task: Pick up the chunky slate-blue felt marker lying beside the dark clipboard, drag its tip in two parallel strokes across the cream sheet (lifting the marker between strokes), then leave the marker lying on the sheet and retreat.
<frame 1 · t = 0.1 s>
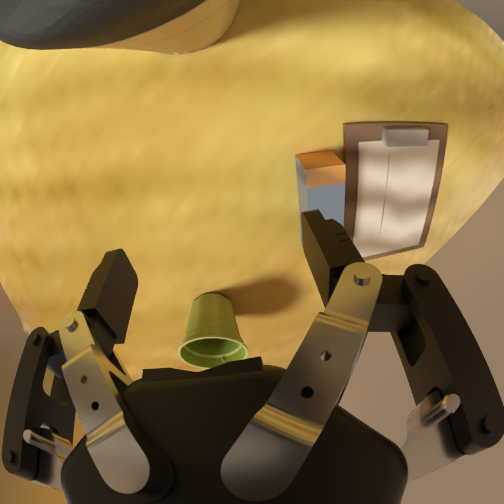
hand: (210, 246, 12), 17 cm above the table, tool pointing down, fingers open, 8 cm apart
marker: (315, 200, 31), on the table
plant pot: (212, 304, 41), on the table
clipboard: (394, 195, 31), on the table
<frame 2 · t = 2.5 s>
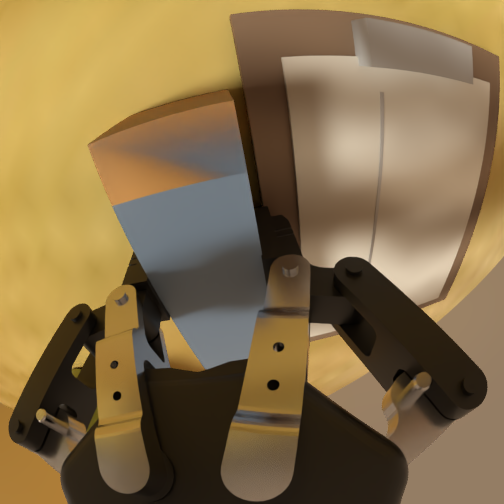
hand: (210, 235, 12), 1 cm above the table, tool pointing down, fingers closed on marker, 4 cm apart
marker: (210, 226, 13), on the table, touching gripper
clipboard: (398, 208, 13), on the table
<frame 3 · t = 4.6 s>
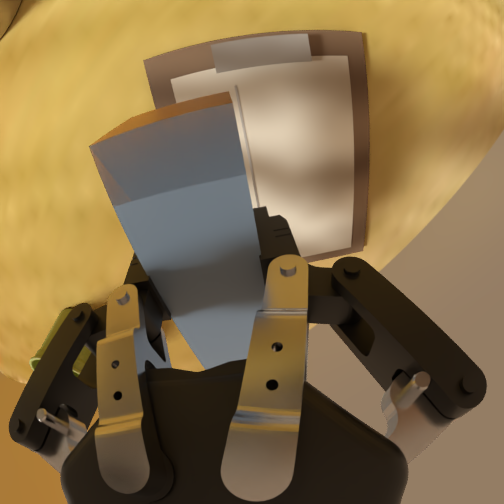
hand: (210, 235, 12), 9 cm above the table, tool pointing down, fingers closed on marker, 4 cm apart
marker: (211, 227, 13), point 8 cm above the table, touching gripper
plant pot: (80, 321, 29), on the table
clipboard: (277, 163, 20), on the table
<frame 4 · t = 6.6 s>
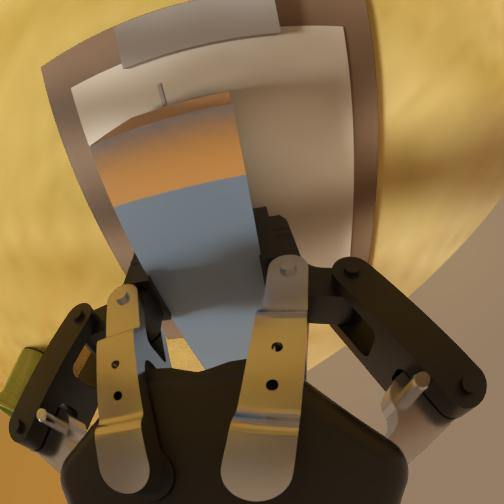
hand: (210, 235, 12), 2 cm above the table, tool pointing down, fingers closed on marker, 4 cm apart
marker: (211, 227, 13), point 1 cm above the table, touching gripper
plant pot: (43, 360, 23), on the table
clipboard: (235, 197, 14), on the table
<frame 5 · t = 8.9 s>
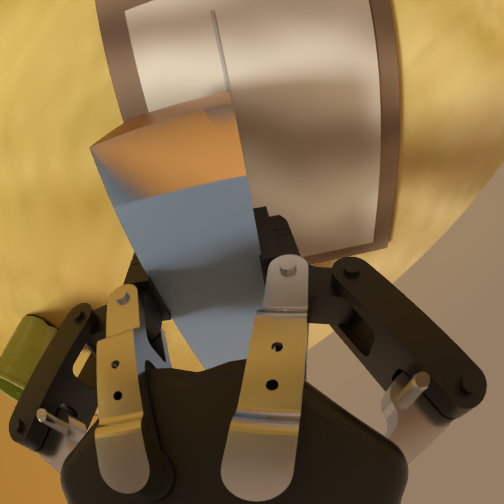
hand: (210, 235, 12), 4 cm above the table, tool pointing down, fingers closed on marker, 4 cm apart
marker: (212, 228, 13), point 3 cm above the table, touching gripper
plant pot: (45, 330, 23), on the table
clipboard: (273, 120, 13), on the table
when the fingers open (2 cm above the table, at t = 10.7 s): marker stays where it is, resting on clipboard.
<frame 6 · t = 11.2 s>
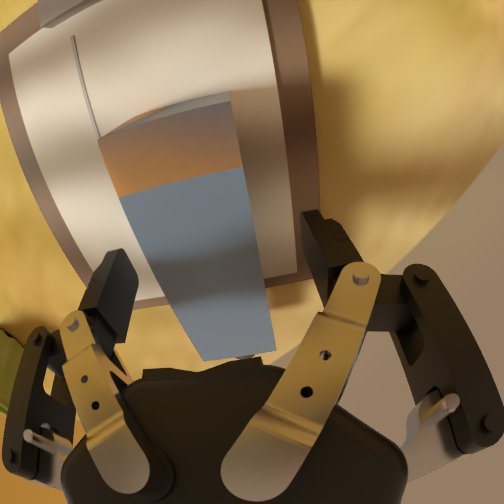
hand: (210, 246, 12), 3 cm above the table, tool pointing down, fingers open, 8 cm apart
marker: (211, 222, 13), point 1 cm above the table, touching clipboard
plant pot: (8, 340, 21), on the table
clipboard: (148, 141, 11), on the table
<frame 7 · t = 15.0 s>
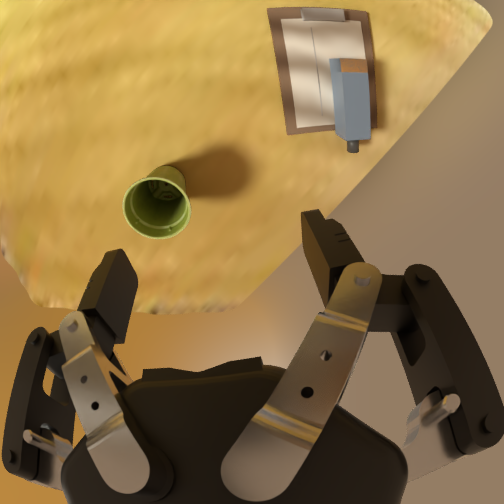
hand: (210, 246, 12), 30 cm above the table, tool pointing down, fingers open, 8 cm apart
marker: (345, 96, 33), point 1 cm above the table, touching clipboard
plant pot: (167, 183, 41), on the table
clipboard: (328, 67, 31), on the table
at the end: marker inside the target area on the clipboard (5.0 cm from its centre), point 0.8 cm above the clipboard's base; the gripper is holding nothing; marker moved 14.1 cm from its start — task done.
